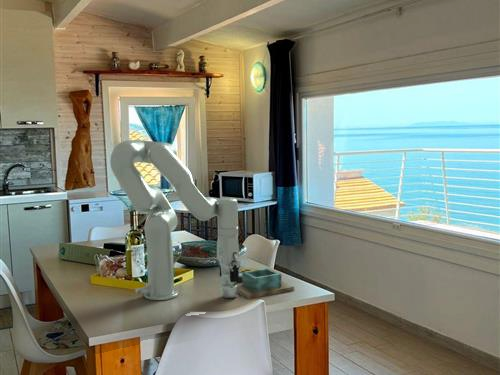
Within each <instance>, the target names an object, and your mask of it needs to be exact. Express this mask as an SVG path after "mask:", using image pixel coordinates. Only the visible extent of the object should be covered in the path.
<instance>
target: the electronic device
mask: <svg viewBox="0 0 500 375" xmlns="http://www.w3.org/2000/svg"><path fill="white" fill-rule="evenodd" d="M253 270H259V269H258V268H251V267H250V268H249V267H248V268H246V267H242V268H239V281H237V284H239V283H242V272H247V271H253Z"/></svg>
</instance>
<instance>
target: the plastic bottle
mask: <svg viewBox="0 0 500 375" xmlns="http://www.w3.org/2000/svg"><path fill="white" fill-rule="evenodd" d="M232 262H235V261H232ZM232 262H231V263H232ZM220 265H221V272H222V273H221V274H222V277H221V279H220V280H221V282H220V295H221V297H223V298H227V299H232V298H235V297H238V294H239V293H238V286H237V281H236V282H230V271H231V268H230V265H226V264H224V263H223V256H222V255H221V256H220ZM233 267H234V265H233Z"/></svg>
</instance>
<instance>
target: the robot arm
mask: <svg viewBox="0 0 500 375" xmlns="http://www.w3.org/2000/svg"><path fill="white" fill-rule="evenodd" d="M177 155H178V153H177V150H176V147H175V146H174V145H173V144H172V143H169V142H161V141H150V140H144V139H142V140H141V139H132V140H131V139H130V140H124V141H121V142H119V143H118V144H117V145H116V146H115V147H114V148H113V150H112V152H111V155H110V168H111V171H112V173H113V175H114V177H115V179H116V180H117V182H118V183H119V186H120V187H121V188H122V190H123V192H124V194H125V195H126V197H127V198H128V200H129V201H130V203H131V205H132V206H133V208H134V209H135V210H136V212H139V213H143V214H144V213H145V214H146V213H147V214H148V217H147V218H146V220H145V223H144V225H143V226H144V229H143V230H144V236H145V242H146V256H147V258H146V259H147V283H145V286H143V287H135V294H141V295H143V294H144V298H145V299H146V300H152V301H167V300H171V299H174V298H176V297H178V296H179V290H178V289H176V288H175V279H174V276H175V275H174V273H175V272H174V250H173V248H174V247H173V240H172V232H173V231H174V230H176V228H177V226H178V222H179V221H178V215H177V214H176V212H175V210H174V208H173V206H172V205H171V204H170V202H169V200H168V199H167V197H166V196H165V194H164V192H163V191H162V190H161V189H160V188H159V187H157V185H153V184H148V183H147V182H146V180H145V178H144V176H143V175H142V173H141V172H140V171H139V169H137V167H136V166H135V163H143V164H144V163H145V164H152V165H153V166H154V168H156V169H157V171H158V172H159V173H160V174H161V175H162V176H163V177H164V179H165V180H166V181H167V182H168V183H169V184H170V186H171V187H172V188H173V191H174V192H175V193H176V196H177V197H178V198H179V200H180V202H181V203H182V204H183V205H184V207H185V208H186V209H187V210H188V211H189V213H190V214H191V215H192V216H193V217H194V218H195V219H197V220H199V221H202V222H204V221H205V222H206V221H209V220H210V219H212V218H214V217H216V218H217V242H216V260H217V261H218V266H219V276H220V277H221V278H222V274H221V273H222V272H221V265H220V256H221V255H222V256H223V263H224V264H226V265H230V268H231V271H230V282H236V281H239V270H240V267H241V259H240V248H239V246H240V245H239V237H238V236H239V206H238V205H239V203H238V200H237V199H236V198H234V197H221V198H219V197H213V196H212V197H211V196H207V197H206V196H204V195H203V194H202V193H201V191H200V190H199V189H198V187H196V185H195V183H194V180H193V175H192V172H191V171H190V170H189V168H188V167H187V166H186V165H185V164H184V163H183V161H181V159H180V158H179V157H178V156H177ZM232 261H235V262H232ZM231 262H232V263H231ZM233 265H234V267H233Z"/></svg>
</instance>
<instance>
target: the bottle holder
mask: <svg viewBox="0 0 500 375" xmlns="http://www.w3.org/2000/svg"><path fill="white" fill-rule="evenodd" d="M237 286H238V294H239V295H240V296H243V297H245V298H246V299H248V300H249V299H255V298H256V299H257V298H261V297H265V296H271V294H272V295H276V294H277V293H278V294H282V293H281V292H283V293H288V292H287V291H289V292H293V290H294V291H295V286H293V285H292V284H289V283H288V282H285V281H282V273H280V272H278V271H275V270H273V269H270V268H268V267H267V268H261V269H259V270H253V271H247V272H242V283H239V284H237Z"/></svg>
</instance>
